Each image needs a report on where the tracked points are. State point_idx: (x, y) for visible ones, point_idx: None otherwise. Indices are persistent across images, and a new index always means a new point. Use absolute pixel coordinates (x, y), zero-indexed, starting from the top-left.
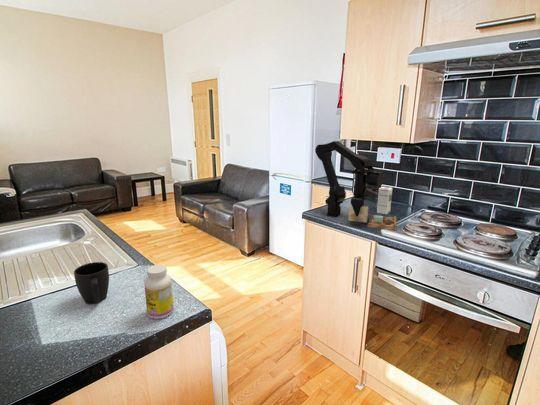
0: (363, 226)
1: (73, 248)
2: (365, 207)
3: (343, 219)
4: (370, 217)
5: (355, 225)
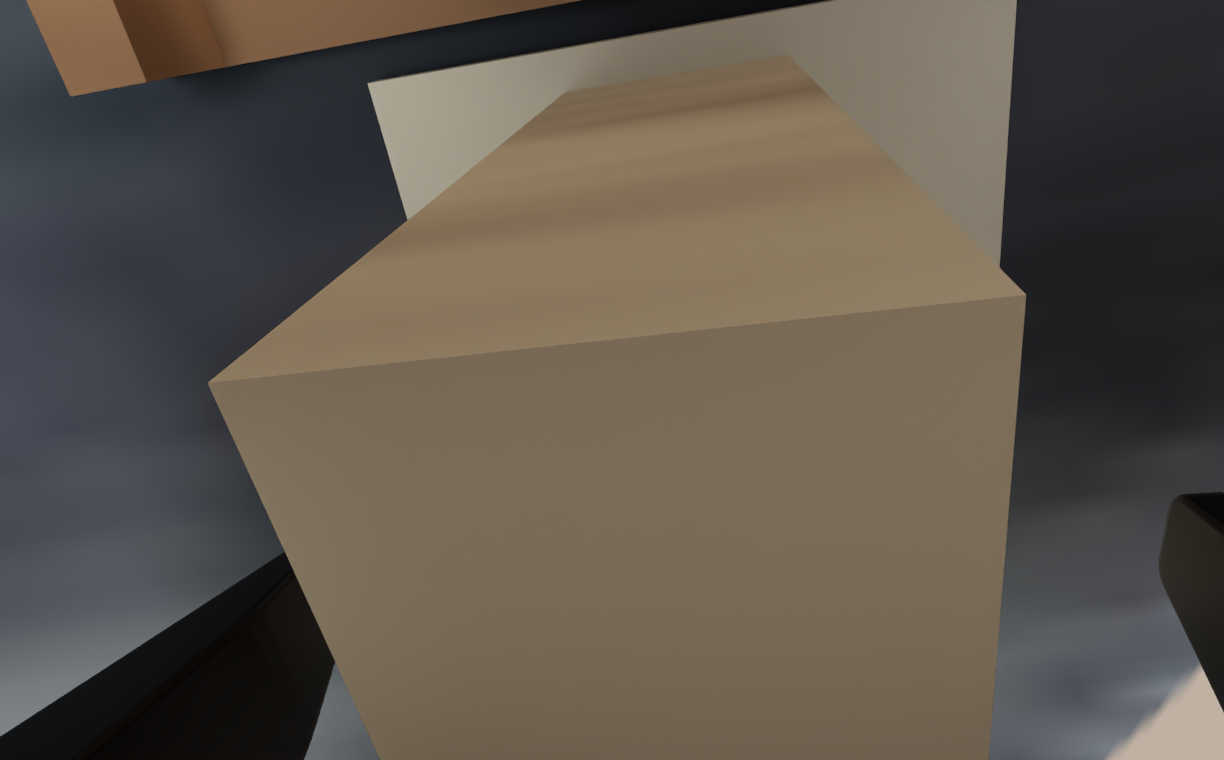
0: (1193, 67)
1: None
2: (992, 562)
3: None
4: (185, 51)
5: (1150, 346)
